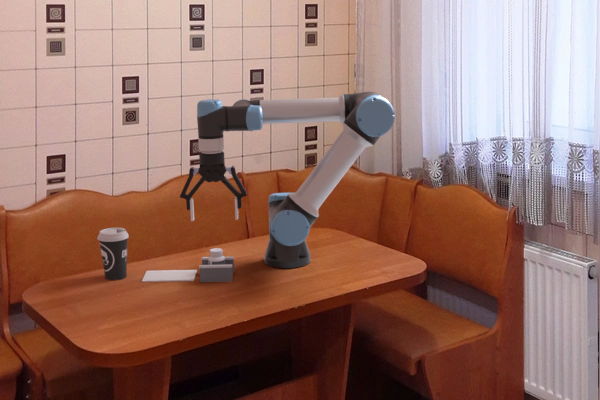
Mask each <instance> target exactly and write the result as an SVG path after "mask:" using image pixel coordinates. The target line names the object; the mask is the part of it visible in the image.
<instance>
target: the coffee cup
mask: <svg viewBox="0 0 600 400" xmlns="http://www.w3.org/2000/svg"><path fill="white" fill-rule="evenodd" d="M128 238H130V237H129V233H128V231H127V230H126V228H123V227H108V228H104V229H103V228H102V229H101V230H99V234H98V235H97V241H98V242H99V248H100V253H101V259H102V260H101V261H102V266H103V271H104V277H105V279H106V280H108V281H119V280H123V279H125V278H126V277H127V270H128V269H127V267H128V263H127V260H128Z"/></svg>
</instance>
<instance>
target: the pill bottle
mask: <svg viewBox="0 0 600 400" xmlns="http://www.w3.org/2000/svg"><path fill="white" fill-rule="evenodd" d="M223 253H224V251H223V248H220V247H215V248H214V247H213V248H211V249H209V255H210V256H208V257H209V258H208V265H225V257H226V256H224V255H223Z"/></svg>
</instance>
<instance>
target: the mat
mask: <svg viewBox="0 0 600 400" xmlns="http://www.w3.org/2000/svg"><path fill="white" fill-rule="evenodd" d="M197 272H198V269H170V270H169V269H168V270H166V269H162V270H146V271H145V273H144V275H143V277H142V280H141V282H142V283H155V282H156V283H157V282H158V283H159V282H160V283H161V282H163V283H164V282H169V283H170V282H194V281H195V279H196V275H197Z"/></svg>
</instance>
